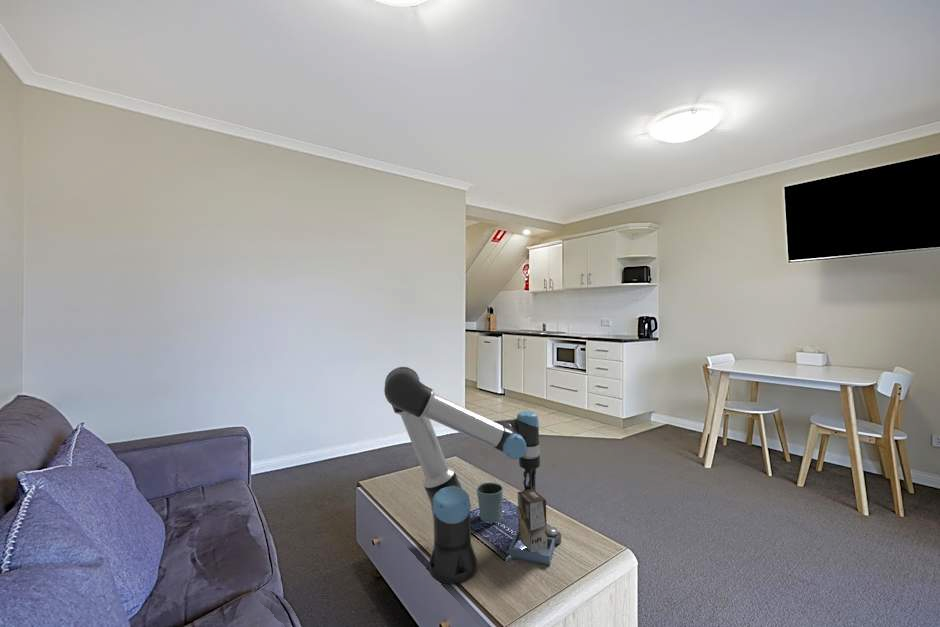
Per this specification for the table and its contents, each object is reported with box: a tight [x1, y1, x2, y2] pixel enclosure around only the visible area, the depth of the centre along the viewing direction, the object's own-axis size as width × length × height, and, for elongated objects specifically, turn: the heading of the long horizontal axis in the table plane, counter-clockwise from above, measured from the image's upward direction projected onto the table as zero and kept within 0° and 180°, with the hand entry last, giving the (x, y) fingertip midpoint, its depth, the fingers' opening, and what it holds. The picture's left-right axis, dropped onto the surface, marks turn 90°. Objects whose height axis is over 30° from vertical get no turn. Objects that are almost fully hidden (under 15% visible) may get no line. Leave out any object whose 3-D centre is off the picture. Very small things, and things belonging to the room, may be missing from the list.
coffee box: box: [517, 489, 548, 553], centre depth 133 cm, size 9×6×16 cm
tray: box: [508, 531, 556, 566], centre depth 133 cm, size 10×13×3 cm
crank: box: [547, 526, 559, 537], centre depth 141 cm, size 12×4×6 cm, turn 69°
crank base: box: [547, 531, 562, 546], centre depth 141 cm, size 6×15×2 cm, turn 69°
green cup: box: [476, 482, 504, 524], centre depth 155 cm, size 10×10×12 cm
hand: (531, 519), depth 145 cm, fingers closed
